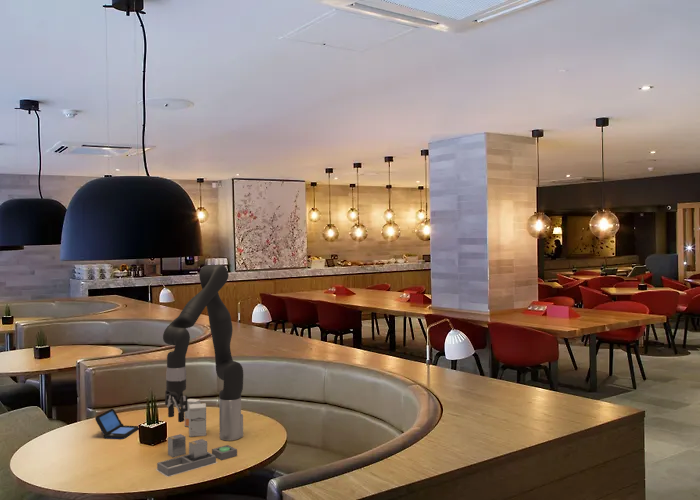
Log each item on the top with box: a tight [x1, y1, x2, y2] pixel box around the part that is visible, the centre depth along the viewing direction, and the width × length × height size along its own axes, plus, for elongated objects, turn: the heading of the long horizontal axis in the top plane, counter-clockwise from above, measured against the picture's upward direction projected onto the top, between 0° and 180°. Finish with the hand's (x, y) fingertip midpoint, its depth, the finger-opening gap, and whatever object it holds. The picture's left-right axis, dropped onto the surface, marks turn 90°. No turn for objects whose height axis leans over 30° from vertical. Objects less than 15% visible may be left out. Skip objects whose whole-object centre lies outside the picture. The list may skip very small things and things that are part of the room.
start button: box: [219, 446, 230, 452], centre depth 238 cm, size 4×4×2 cm
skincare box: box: [184, 398, 201, 428], centre depth 279 cm, size 6×4×12 cm
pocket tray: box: [155, 451, 219, 478], centre depth 227 cm, size 20×10×4 cm, turn 133°
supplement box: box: [188, 402, 207, 438], centre depth 267 cm, size 7×7×13 cm
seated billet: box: [188, 438, 208, 462], centre depth 230 cm, size 6×4×8 cm
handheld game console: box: [94, 408, 139, 440], centre depth 269 cm, size 16×13×9 cm
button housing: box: [211, 444, 238, 461], centre depth 238 cm, size 7×7×4 cm
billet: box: [167, 433, 187, 458], centre depth 239 cm, size 6×4×8 cm
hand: (176, 419), depth 239 cm, fingers open, 8 cm apart
